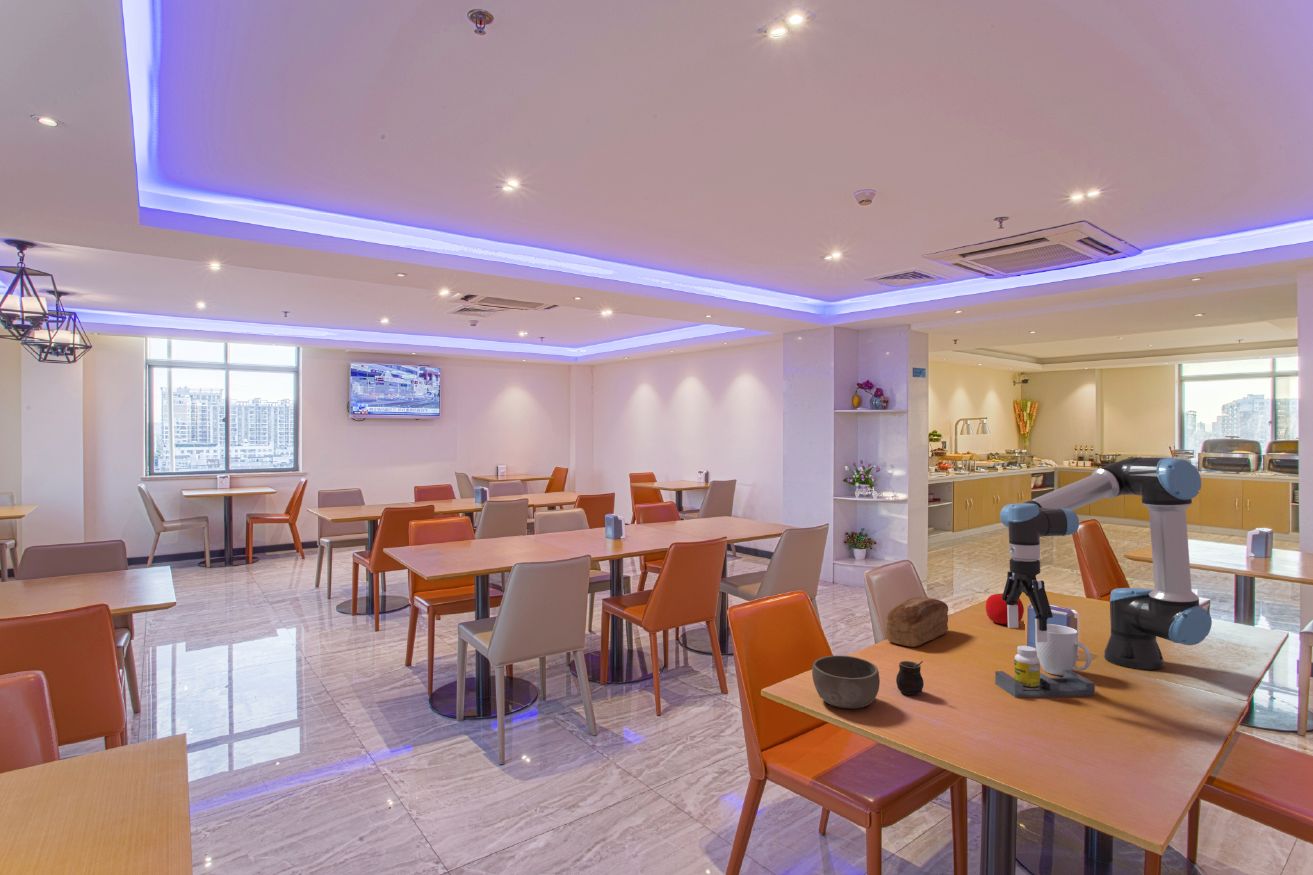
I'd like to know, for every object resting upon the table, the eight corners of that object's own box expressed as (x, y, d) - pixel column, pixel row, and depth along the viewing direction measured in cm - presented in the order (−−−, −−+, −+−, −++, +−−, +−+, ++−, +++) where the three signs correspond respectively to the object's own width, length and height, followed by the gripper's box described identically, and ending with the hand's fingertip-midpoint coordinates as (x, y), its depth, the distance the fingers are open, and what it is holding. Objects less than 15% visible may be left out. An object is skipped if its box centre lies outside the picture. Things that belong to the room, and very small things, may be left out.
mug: (1099, 677, 193) (1099, 633, 193) (1081, 685, 187) (1081, 639, 187) (1046, 663, 205) (1046, 621, 205) (1028, 670, 199) (1027, 627, 199)
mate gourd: (902, 685, 187) (902, 650, 187) (929, 693, 182) (929, 657, 182) (891, 692, 182) (891, 656, 182) (918, 700, 177) (918, 663, 177)
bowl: (845, 721, 164) (844, 681, 164) (798, 697, 180) (798, 660, 180) (894, 708, 172) (894, 669, 172) (846, 685, 188) (845, 650, 188)
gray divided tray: (1071, 682, 189) (1070, 670, 189) (1094, 696, 179) (1094, 683, 179) (995, 683, 188) (995, 671, 188) (1014, 697, 178) (1014, 683, 178)
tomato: (993, 627, 245) (992, 596, 245) (981, 617, 259) (981, 588, 259) (1030, 629, 243) (1029, 597, 243) (1016, 619, 257) (1015, 589, 257)
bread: (953, 632, 240) (953, 595, 240) (915, 651, 218) (915, 610, 218) (921, 625, 248) (920, 590, 249) (881, 643, 227) (881, 604, 227)
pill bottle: (1009, 684, 186) (1009, 645, 186) (1030, 683, 186) (1030, 644, 186) (1023, 692, 180) (1023, 651, 180) (1045, 691, 180) (1044, 651, 180)
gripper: (988, 551, 196) (990, 622, 196) (1037, 567, 171) (1040, 649, 171) (1013, 550, 196) (1014, 621, 196) (1066, 567, 171) (1068, 648, 171)
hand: (1026, 634), depth 184 cm, fingers open, 13 cm apart
